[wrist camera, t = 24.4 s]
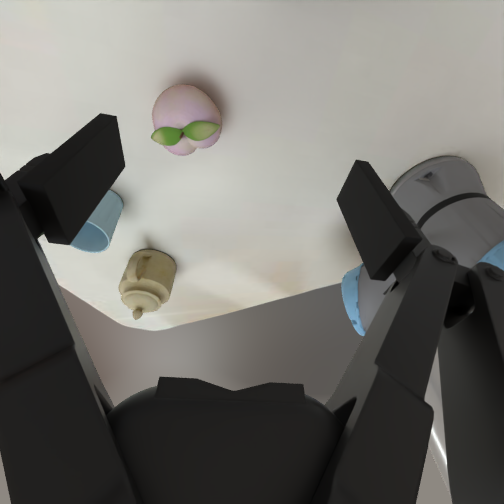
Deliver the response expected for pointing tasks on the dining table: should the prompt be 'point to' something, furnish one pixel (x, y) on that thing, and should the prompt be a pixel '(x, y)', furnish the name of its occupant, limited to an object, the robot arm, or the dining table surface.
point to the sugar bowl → (147, 281)
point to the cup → (100, 225)
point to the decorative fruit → (185, 120)
